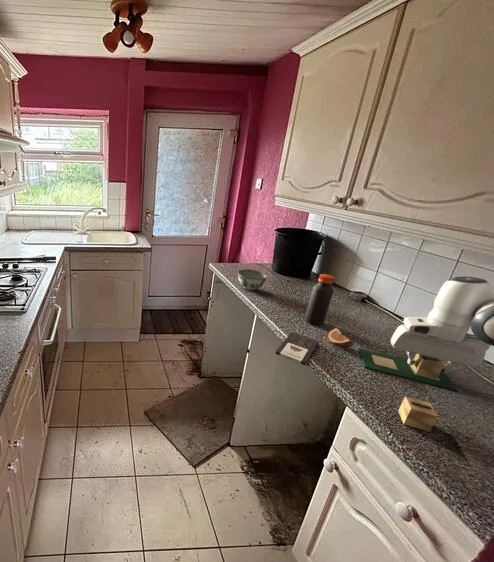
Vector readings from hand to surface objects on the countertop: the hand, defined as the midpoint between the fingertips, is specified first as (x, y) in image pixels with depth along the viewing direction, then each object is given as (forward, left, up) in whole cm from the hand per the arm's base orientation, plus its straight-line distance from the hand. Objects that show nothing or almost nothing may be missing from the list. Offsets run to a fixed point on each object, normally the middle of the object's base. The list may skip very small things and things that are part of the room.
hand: (425, 367), depth 96 cm
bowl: (+56, -45, -2) cm, 72 cm away
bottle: (+29, -21, -2) cm, 36 cm away
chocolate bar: (+35, +5, -2) cm, 35 cm away
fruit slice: (+22, -5, -2) cm, 23 cm away
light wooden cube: (+9, +27, -2) cm, 29 cm away
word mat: (+5, 0, -2) cm, 5 cm away
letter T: (0, 0, -2) cm, 2 cm away
